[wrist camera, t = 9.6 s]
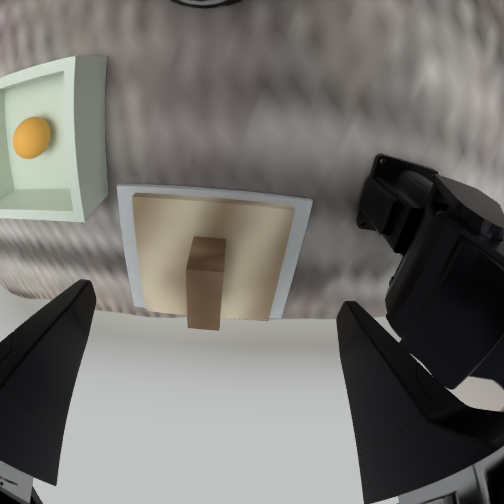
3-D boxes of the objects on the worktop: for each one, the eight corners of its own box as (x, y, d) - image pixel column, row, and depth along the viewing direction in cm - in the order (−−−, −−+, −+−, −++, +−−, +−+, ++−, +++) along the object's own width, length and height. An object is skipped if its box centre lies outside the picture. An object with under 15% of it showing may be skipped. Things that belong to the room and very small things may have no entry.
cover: (293, 205, 21) (305, 240, 17) (267, 314, 28) (271, 354, 24) (135, 192, 20) (112, 224, 16) (148, 304, 27) (137, 342, 23)
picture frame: (311, 198, 21) (312, 201, 21) (280, 315, 29) (280, 318, 28) (118, 183, 20) (116, 185, 20) (135, 302, 27) (134, 306, 27)
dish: (107, 56, 14) (75, 55, 10) (108, 194, 20) (84, 222, 17) (4, 81, 13) (-31, 91, 9) (15, 193, 19) (-12, 217, 16)
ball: (58, 113, 15) (33, 116, 13) (58, 153, 17) (33, 162, 14) (30, 117, 15) (5, 122, 12) (30, 155, 17) (5, 164, 14)
